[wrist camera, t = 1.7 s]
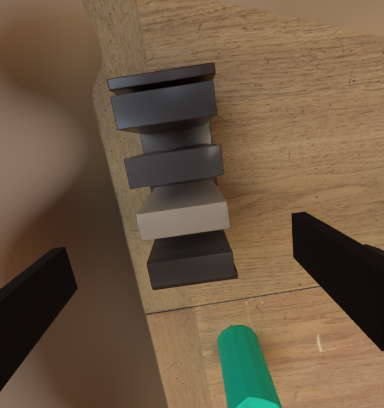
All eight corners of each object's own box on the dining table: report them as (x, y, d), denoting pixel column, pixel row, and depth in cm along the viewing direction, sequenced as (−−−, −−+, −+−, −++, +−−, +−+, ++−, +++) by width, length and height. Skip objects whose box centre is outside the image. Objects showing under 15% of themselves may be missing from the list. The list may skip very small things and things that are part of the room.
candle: (261, 327, 35) (297, 418, 24) (252, 359, 37) (281, 459, 25) (221, 322, 35) (239, 412, 23) (214, 355, 36) (226, 454, 25)
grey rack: (135, 101, 27) (96, 71, 16) (204, 90, 27) (218, 51, 15) (163, 245, 32) (149, 305, 20) (222, 236, 32) (243, 292, 20)
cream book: (154, 187, 29) (135, 214, 18) (212, 179, 29) (227, 201, 18) (158, 204, 29) (141, 241, 19) (214, 196, 29) (230, 228, 18)
